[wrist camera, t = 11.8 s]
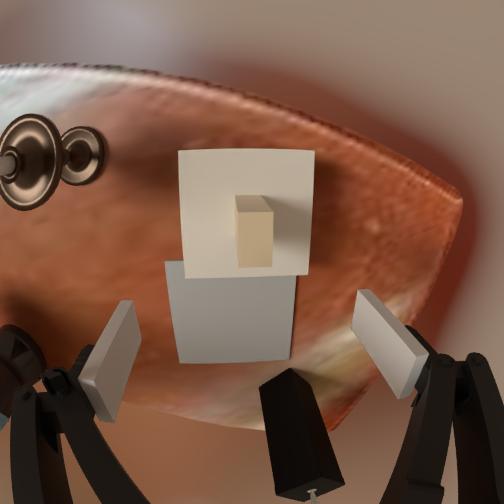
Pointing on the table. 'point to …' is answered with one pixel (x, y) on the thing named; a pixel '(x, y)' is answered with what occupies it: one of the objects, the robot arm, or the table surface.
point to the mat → (230, 316)
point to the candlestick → (45, 160)
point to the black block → (297, 440)
